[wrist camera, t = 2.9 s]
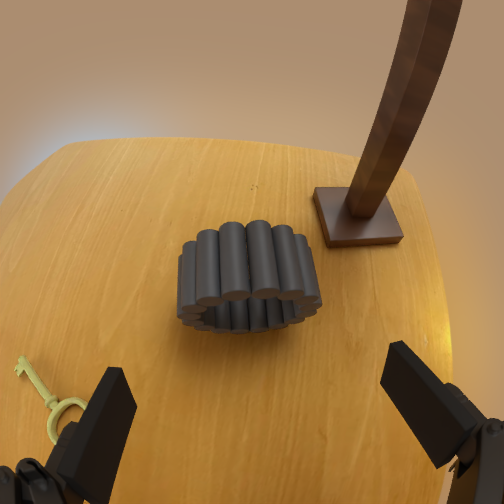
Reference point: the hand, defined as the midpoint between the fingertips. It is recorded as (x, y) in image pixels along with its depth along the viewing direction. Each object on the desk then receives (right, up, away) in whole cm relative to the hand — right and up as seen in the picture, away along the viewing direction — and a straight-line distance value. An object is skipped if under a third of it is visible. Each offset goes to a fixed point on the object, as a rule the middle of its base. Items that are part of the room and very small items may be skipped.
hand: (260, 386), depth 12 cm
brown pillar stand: (+13, +8, +19) cm, 25 cm away
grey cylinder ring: (-1, +1, +15) cm, 15 cm away
